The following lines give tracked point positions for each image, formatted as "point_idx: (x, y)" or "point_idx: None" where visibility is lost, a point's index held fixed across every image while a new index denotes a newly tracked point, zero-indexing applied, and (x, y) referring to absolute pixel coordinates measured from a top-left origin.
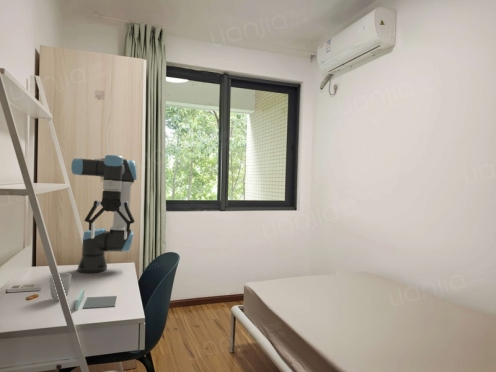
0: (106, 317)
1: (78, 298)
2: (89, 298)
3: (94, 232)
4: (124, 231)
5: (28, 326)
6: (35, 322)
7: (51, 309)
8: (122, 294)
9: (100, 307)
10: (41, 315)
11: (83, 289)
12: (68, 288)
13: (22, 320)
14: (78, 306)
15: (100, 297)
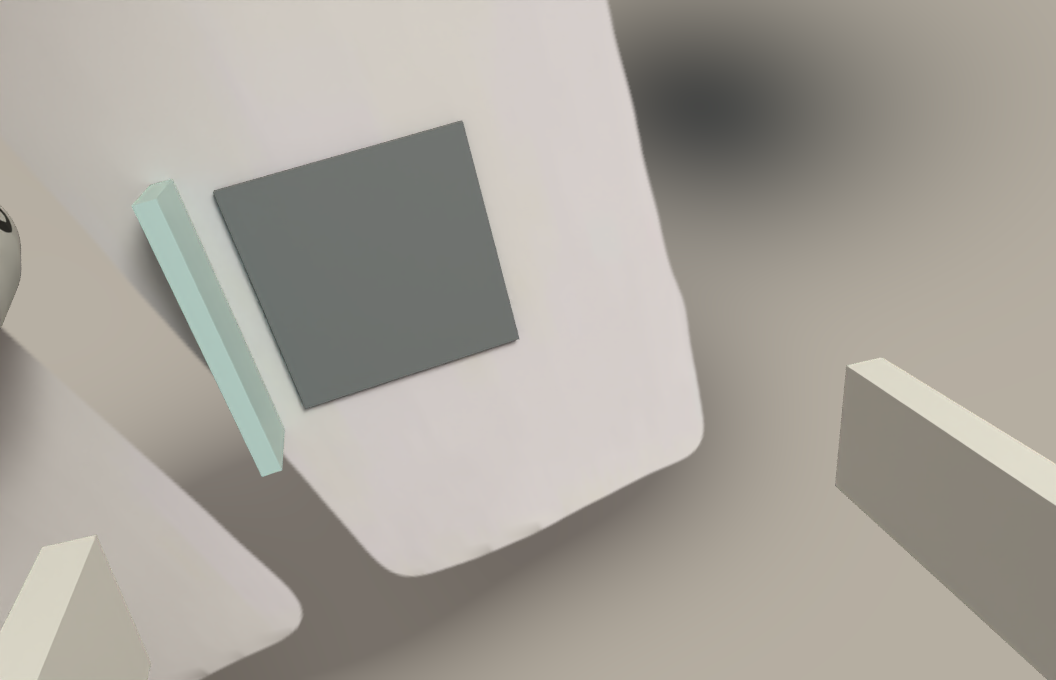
0: (521, 491)
1: (262, 443)
2: (249, 217)
3: (58, 661)
4: (972, 608)
5: None
6: None
7: (76, 453)
8: (492, 48)
9: (424, 367)
10: None
11: (164, 227)
12: (11, 272)
13: None
14: (278, 427)
15: (335, 180)
